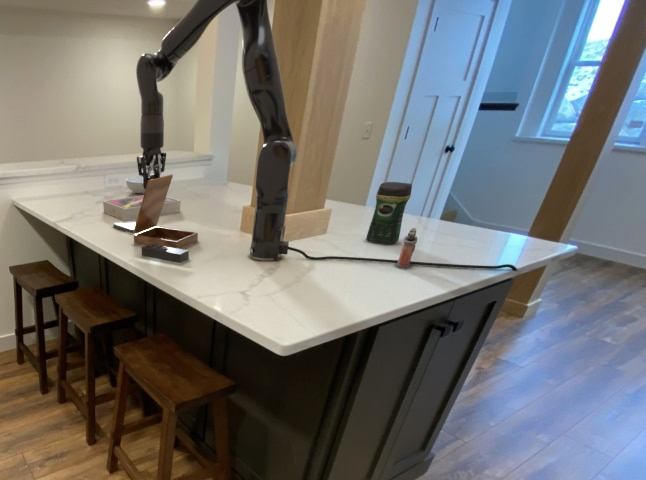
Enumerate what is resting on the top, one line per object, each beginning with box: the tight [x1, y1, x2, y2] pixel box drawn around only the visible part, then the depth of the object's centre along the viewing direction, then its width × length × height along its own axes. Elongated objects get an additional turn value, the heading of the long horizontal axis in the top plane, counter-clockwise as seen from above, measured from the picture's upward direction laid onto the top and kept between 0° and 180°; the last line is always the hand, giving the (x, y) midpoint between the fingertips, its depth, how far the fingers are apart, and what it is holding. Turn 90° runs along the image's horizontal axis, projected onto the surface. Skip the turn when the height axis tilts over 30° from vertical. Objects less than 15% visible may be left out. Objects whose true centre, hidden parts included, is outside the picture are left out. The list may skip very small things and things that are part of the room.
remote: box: [141, 244, 190, 264], centre depth 143 cm, size 15×5×4 cm, turn 52°
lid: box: [132, 173, 174, 235], centre depth 155 cm, size 19×14×5 cm
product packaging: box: [102, 194, 181, 222], centre depth 203 cm, size 22×28×5 cm
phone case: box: [113, 220, 151, 234], centre depth 178 cm, size 9×2×16 cm
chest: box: [133, 226, 199, 249], centre depth 158 cm, size 18×14×4 cm
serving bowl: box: [125, 175, 146, 195], centre depth 244 cm, size 21×21×7 cm
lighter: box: [396, 227, 419, 270], centre depth 128 cm, size 8×3×10 cm, turn 148°
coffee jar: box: [365, 181, 413, 245], centre depth 146 cm, size 10×8×19 cm
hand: (151, 187), depth 152 cm, fingers closed on lid, 5 cm apart
